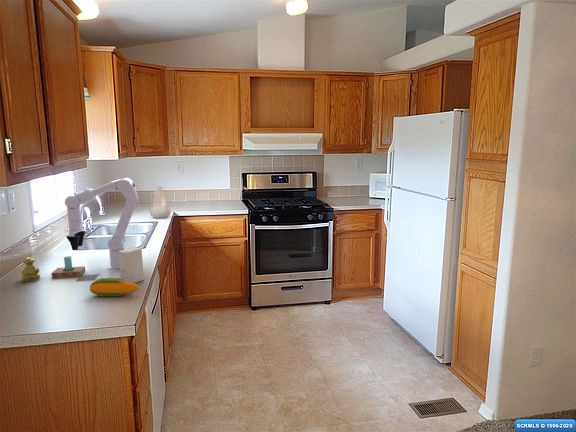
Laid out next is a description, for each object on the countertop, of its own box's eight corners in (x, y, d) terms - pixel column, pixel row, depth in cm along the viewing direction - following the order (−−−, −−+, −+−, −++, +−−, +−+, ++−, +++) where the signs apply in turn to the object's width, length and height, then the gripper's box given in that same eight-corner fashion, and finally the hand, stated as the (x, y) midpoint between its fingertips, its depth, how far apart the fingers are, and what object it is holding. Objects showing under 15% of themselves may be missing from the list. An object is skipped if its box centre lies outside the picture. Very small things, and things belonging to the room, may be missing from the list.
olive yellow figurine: (21, 283, 188) (18, 261, 186) (21, 278, 194) (18, 257, 192) (40, 280, 192) (38, 258, 190) (40, 275, 198) (37, 254, 196)
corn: (93, 274, 176) (142, 274, 176) (95, 291, 178) (143, 291, 178) (85, 281, 168) (136, 281, 169) (87, 299, 170) (137, 299, 171)
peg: (74, 274, 199) (72, 256, 198) (71, 276, 196) (69, 257, 195) (67, 274, 199) (65, 256, 197) (64, 277, 196) (62, 258, 195)
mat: (99, 274, 199) (99, 273, 199) (94, 281, 191) (94, 280, 190) (81, 275, 198) (81, 275, 198) (75, 282, 189) (75, 281, 189)
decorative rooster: (150, 216, 346) (148, 185, 342) (170, 215, 351) (168, 184, 346) (149, 221, 323) (147, 189, 318) (171, 220, 327) (169, 188, 323)
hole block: (85, 272, 203) (84, 266, 202) (80, 277, 195) (80, 271, 194) (58, 273, 201) (57, 267, 200) (52, 279, 193) (51, 273, 192)
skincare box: (136, 277, 195) (134, 246, 192) (144, 280, 191) (142, 248, 189) (120, 283, 188) (117, 250, 185) (128, 285, 185) (125, 252, 182)
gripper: (70, 217, 211) (73, 244, 213) (60, 223, 197) (63, 252, 199) (85, 217, 212) (88, 243, 214) (77, 223, 198) (80, 251, 200)
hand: (77, 247), depth 207 cm, fingers open, 7 cm apart
